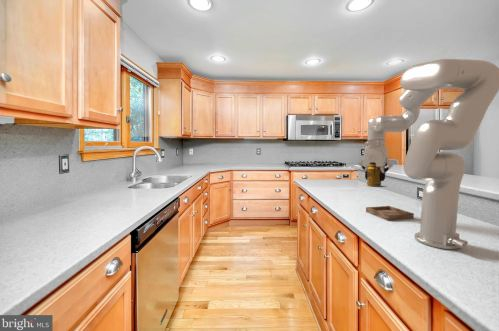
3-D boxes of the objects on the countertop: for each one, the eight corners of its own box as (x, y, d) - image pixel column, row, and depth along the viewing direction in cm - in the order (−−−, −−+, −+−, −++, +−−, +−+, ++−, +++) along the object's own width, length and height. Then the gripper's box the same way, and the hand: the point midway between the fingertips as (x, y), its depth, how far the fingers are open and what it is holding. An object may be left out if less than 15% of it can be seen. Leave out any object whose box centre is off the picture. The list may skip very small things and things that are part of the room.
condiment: (363, 185, 116) (363, 161, 115) (378, 185, 117) (379, 161, 116) (372, 187, 108) (373, 162, 108) (388, 187, 110) (389, 162, 109)
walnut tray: (413, 218, 106) (413, 213, 105) (388, 220, 103) (388, 215, 102) (388, 210, 119) (389, 205, 119) (365, 211, 116) (366, 207, 116)
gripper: (354, 144, 116) (353, 179, 117) (392, 143, 103) (391, 182, 104) (361, 144, 121) (360, 178, 122) (398, 143, 108) (397, 181, 109)
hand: (374, 179), depth 113 cm, fingers closed on condiment, 6 cm apart
